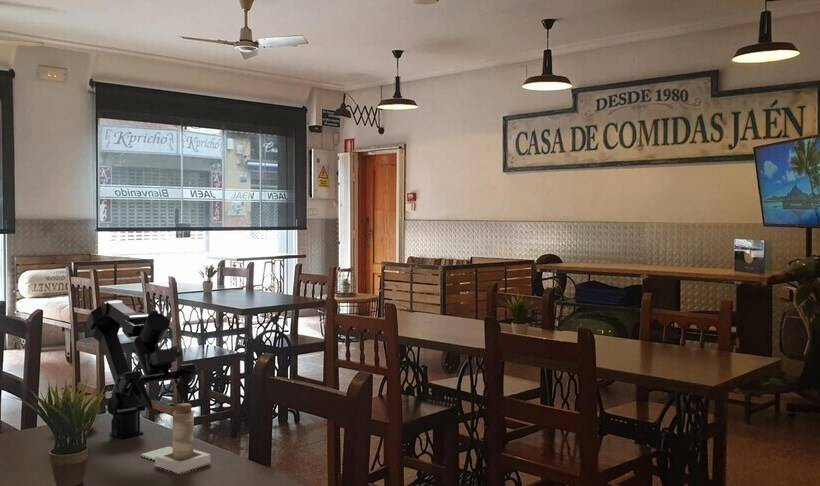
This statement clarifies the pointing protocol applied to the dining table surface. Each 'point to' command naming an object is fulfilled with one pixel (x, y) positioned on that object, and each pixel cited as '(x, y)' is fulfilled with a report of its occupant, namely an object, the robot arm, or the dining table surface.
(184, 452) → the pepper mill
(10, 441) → the dining table surface
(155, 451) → the rubber mat
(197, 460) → the pocket holder
